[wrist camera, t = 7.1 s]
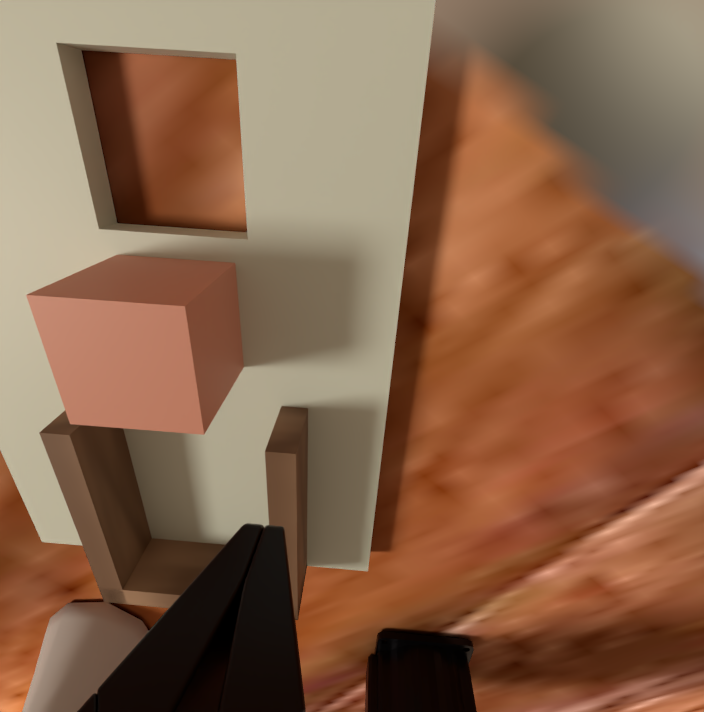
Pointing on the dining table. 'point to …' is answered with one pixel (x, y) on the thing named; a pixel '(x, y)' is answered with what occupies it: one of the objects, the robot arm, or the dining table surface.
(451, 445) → the dining table surface
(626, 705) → the dining table surface
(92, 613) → the flask
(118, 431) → the cubby
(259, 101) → the board
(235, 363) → the block
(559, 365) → the dining table surface
